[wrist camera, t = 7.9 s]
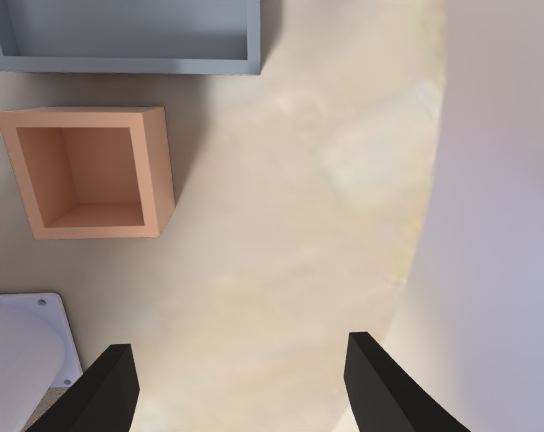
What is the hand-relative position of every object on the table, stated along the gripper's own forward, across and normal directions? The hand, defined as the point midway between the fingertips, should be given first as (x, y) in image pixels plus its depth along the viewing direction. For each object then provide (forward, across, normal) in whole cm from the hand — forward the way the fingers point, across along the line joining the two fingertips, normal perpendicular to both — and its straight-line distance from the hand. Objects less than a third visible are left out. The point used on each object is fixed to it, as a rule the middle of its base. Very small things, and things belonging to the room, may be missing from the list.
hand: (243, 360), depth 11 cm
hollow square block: (+10, +7, -4) cm, 13 cm away
